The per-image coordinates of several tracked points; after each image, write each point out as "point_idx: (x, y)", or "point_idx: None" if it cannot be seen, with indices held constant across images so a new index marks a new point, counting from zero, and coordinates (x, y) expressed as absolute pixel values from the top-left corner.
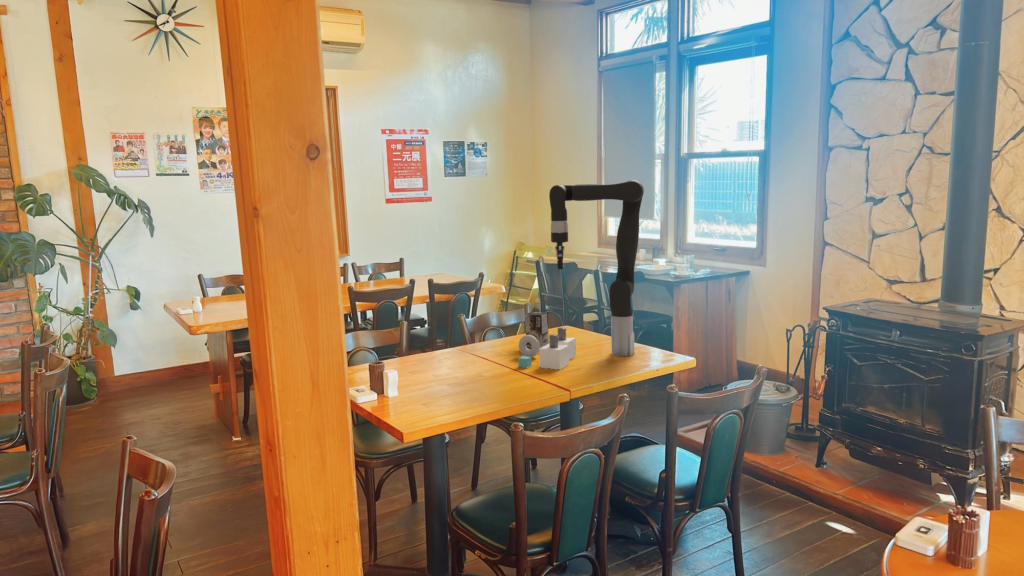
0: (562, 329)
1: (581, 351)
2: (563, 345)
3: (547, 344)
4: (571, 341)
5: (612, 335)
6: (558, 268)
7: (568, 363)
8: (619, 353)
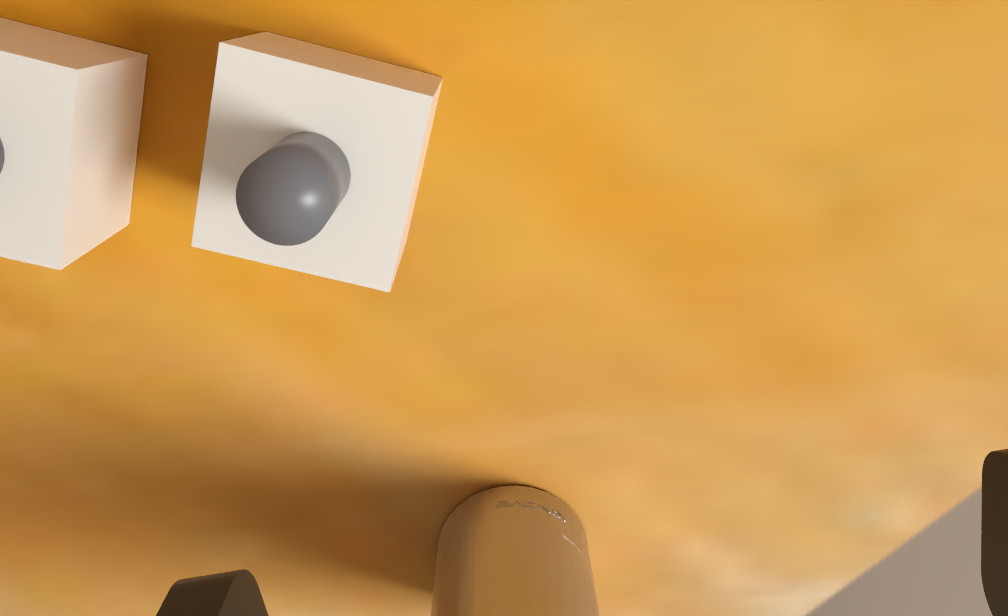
0: (242, 213)
1: (577, 263)
2: (53, 227)
3: (56, 64)
4: (287, 264)
5: (471, 585)
6: (179, 607)
7: (123, 226)
8: (437, 549)
